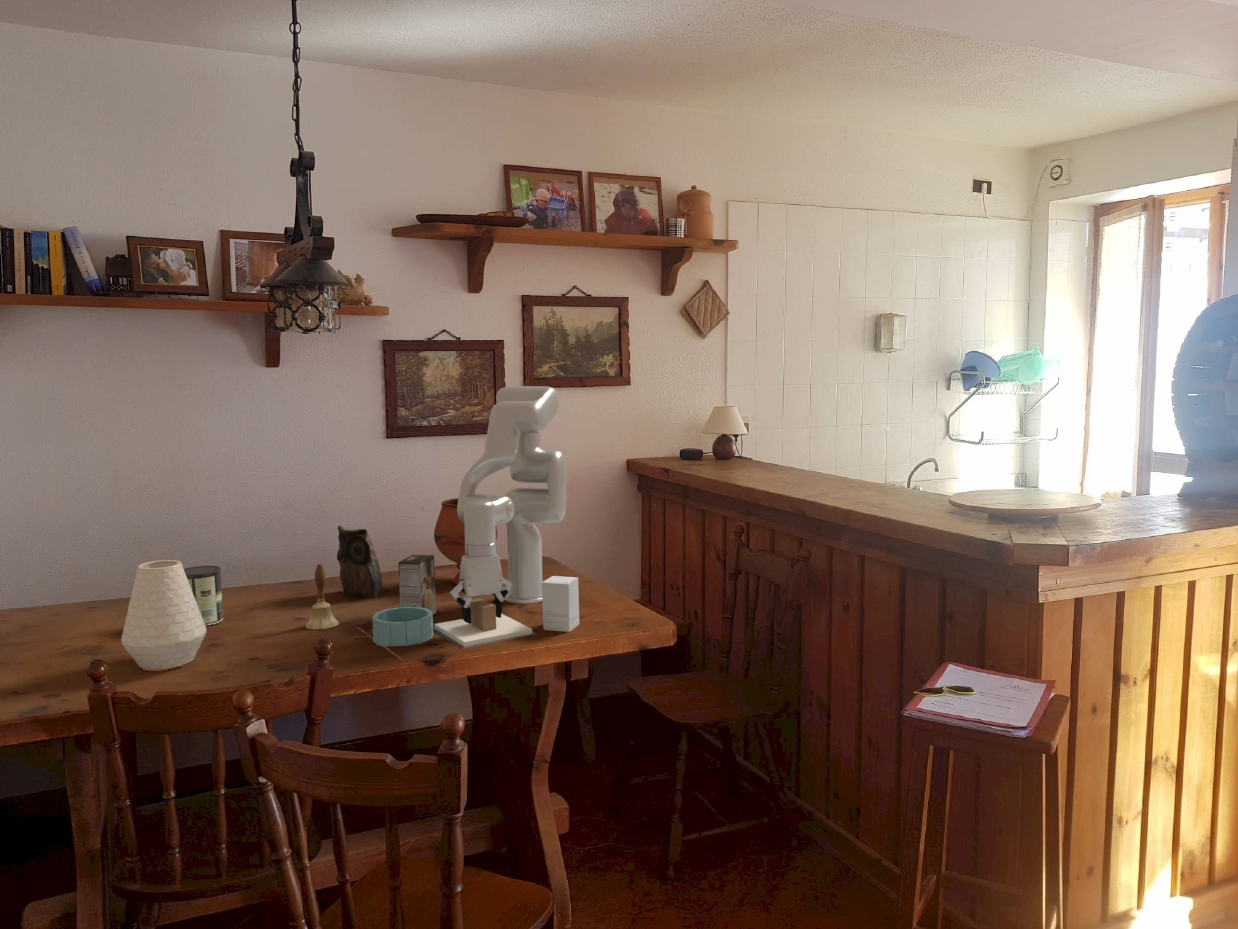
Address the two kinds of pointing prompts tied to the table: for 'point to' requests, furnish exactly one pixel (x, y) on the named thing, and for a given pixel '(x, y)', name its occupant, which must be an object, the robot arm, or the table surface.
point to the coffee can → (207, 591)
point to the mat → (478, 644)
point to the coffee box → (417, 582)
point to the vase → (162, 617)
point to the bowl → (402, 626)
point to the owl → (358, 564)
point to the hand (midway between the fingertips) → (482, 618)
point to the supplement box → (560, 603)
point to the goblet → (451, 533)
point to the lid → (482, 626)
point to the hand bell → (321, 606)
